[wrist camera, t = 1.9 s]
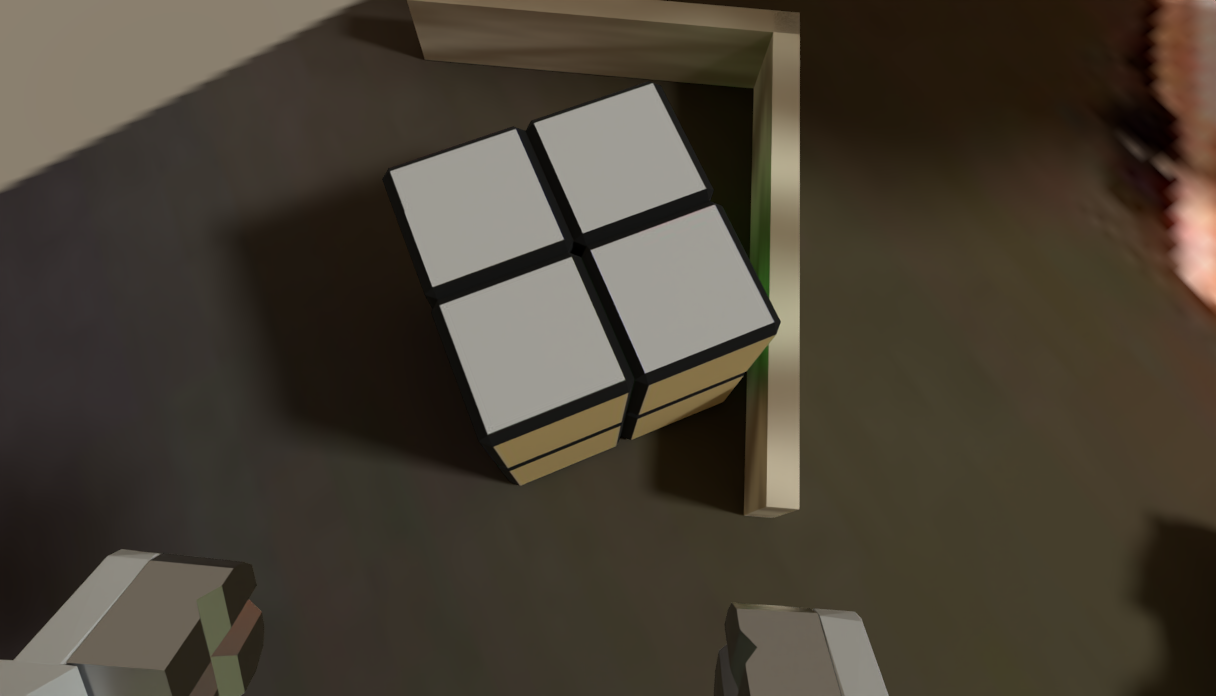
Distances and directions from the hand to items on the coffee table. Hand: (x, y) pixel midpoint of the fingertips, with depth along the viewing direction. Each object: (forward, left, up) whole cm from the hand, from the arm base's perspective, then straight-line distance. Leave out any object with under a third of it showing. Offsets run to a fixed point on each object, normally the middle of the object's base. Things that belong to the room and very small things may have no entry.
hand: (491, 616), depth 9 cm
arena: (+5, -14, -21) cm, 26 cm away
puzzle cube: (+4, -10, -22) cm, 24 cm away
